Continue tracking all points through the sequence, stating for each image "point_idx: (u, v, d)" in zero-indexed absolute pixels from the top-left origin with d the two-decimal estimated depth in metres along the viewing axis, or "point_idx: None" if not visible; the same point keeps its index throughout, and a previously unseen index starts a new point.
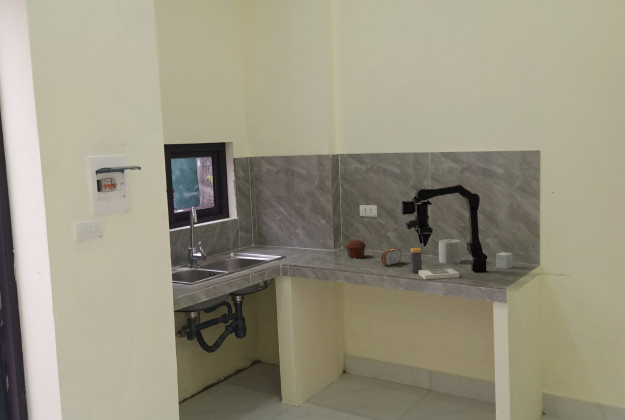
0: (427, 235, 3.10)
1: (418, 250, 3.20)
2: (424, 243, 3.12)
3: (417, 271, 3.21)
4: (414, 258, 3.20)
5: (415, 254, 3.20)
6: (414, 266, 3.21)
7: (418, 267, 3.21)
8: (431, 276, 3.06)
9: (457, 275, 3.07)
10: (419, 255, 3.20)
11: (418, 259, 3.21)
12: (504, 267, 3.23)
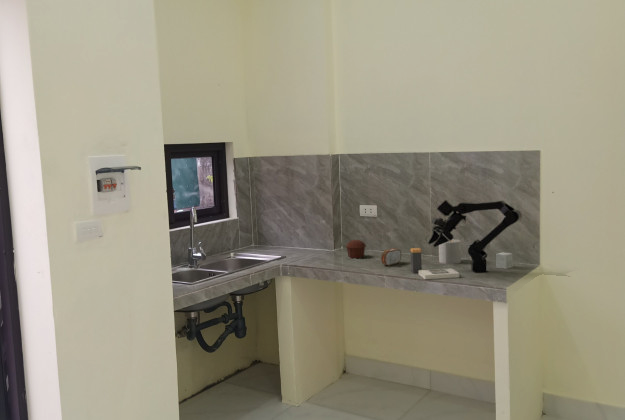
0: (444, 240, 3.17)
1: (418, 250, 3.20)
2: (436, 243, 3.18)
3: (417, 271, 3.21)
4: (414, 258, 3.20)
5: (415, 254, 3.20)
6: (414, 266, 3.21)
7: (418, 267, 3.21)
8: (431, 276, 3.06)
9: (457, 275, 3.07)
10: (419, 255, 3.20)
11: (418, 259, 3.21)
12: (504, 267, 3.23)
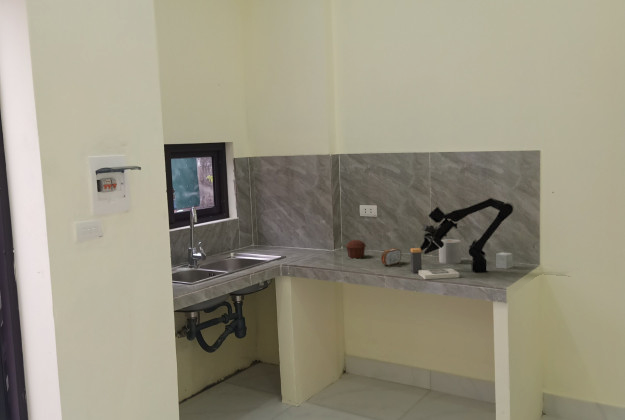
0: (434, 247, 3.17)
1: (418, 250, 3.20)
2: (426, 251, 3.18)
3: (417, 271, 3.21)
4: (414, 258, 3.20)
5: (415, 254, 3.20)
6: (414, 266, 3.21)
7: (418, 267, 3.21)
8: (431, 276, 3.06)
9: (457, 275, 3.07)
10: (419, 255, 3.20)
11: (418, 259, 3.21)
12: (504, 267, 3.23)
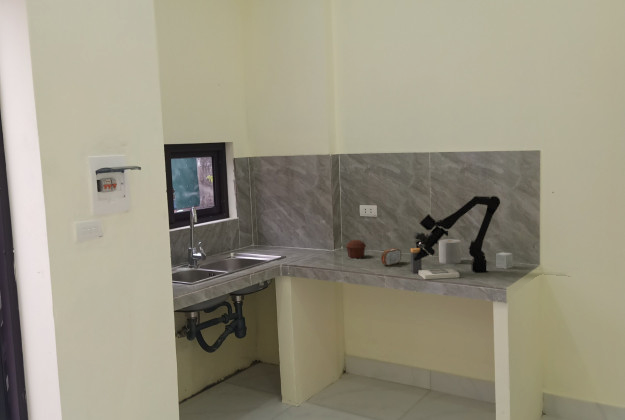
0: (424, 254, 3.19)
1: (418, 250, 3.20)
2: (416, 257, 3.20)
3: (417, 271, 3.21)
4: None
5: (415, 254, 3.20)
6: (414, 266, 3.21)
7: (418, 267, 3.21)
8: (431, 276, 3.06)
9: (457, 275, 3.07)
10: None
11: None
12: (504, 267, 3.23)
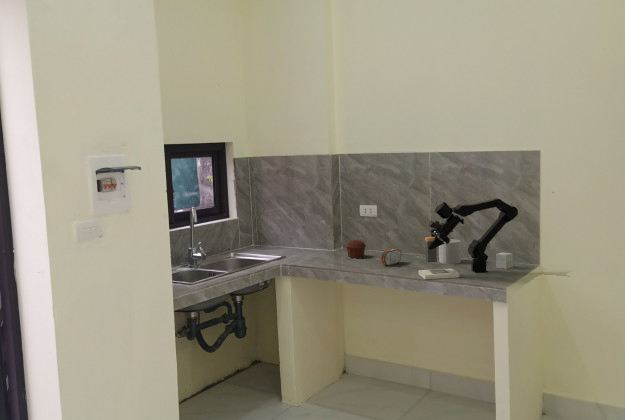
0: (439, 242, 3.11)
1: (433, 239, 3.13)
2: (431, 246, 3.12)
3: (432, 260, 3.14)
4: None
5: (430, 243, 3.13)
6: (429, 255, 3.13)
7: (433, 256, 3.13)
8: (431, 276, 3.06)
9: (457, 275, 3.07)
10: None
11: None
12: (504, 267, 3.23)
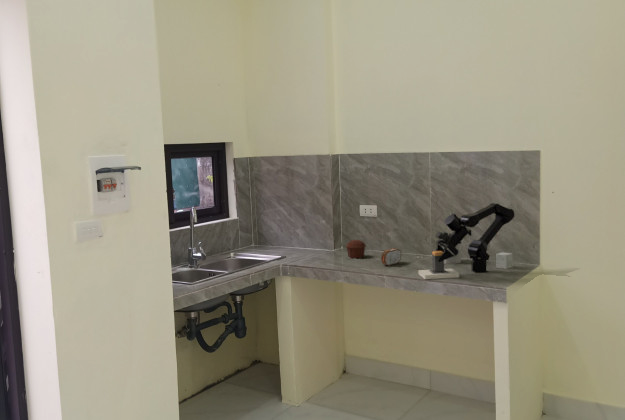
0: (448, 255, 3.06)
1: (440, 253, 3.09)
2: (440, 259, 3.06)
3: None
4: (436, 261, 3.10)
5: (437, 257, 3.10)
6: (436, 270, 3.10)
7: (440, 271, 3.10)
8: (431, 276, 3.06)
9: (457, 275, 3.07)
10: None
11: (440, 262, 3.10)
12: (504, 267, 3.23)
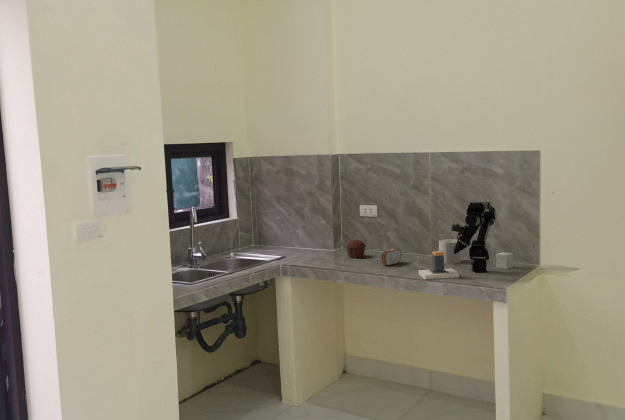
0: (462, 246, 3.08)
1: (441, 253, 3.09)
2: (455, 250, 3.09)
3: None
4: (436, 261, 3.10)
5: (437, 257, 3.09)
6: (436, 270, 3.10)
7: (441, 271, 3.10)
8: (431, 276, 3.06)
9: (457, 275, 3.07)
10: (442, 258, 3.10)
11: (441, 262, 3.10)
12: (504, 267, 3.23)
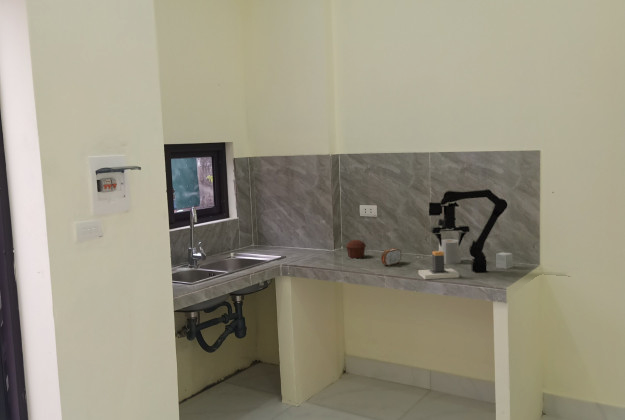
0: None
1: (441, 253, 3.09)
2: (439, 243, 3.20)
3: None
4: (436, 261, 3.10)
5: (437, 257, 3.09)
6: (436, 270, 3.10)
7: (441, 271, 3.10)
8: (431, 276, 3.06)
9: (457, 275, 3.07)
10: (442, 258, 3.10)
11: (441, 262, 3.10)
12: (504, 267, 3.23)
